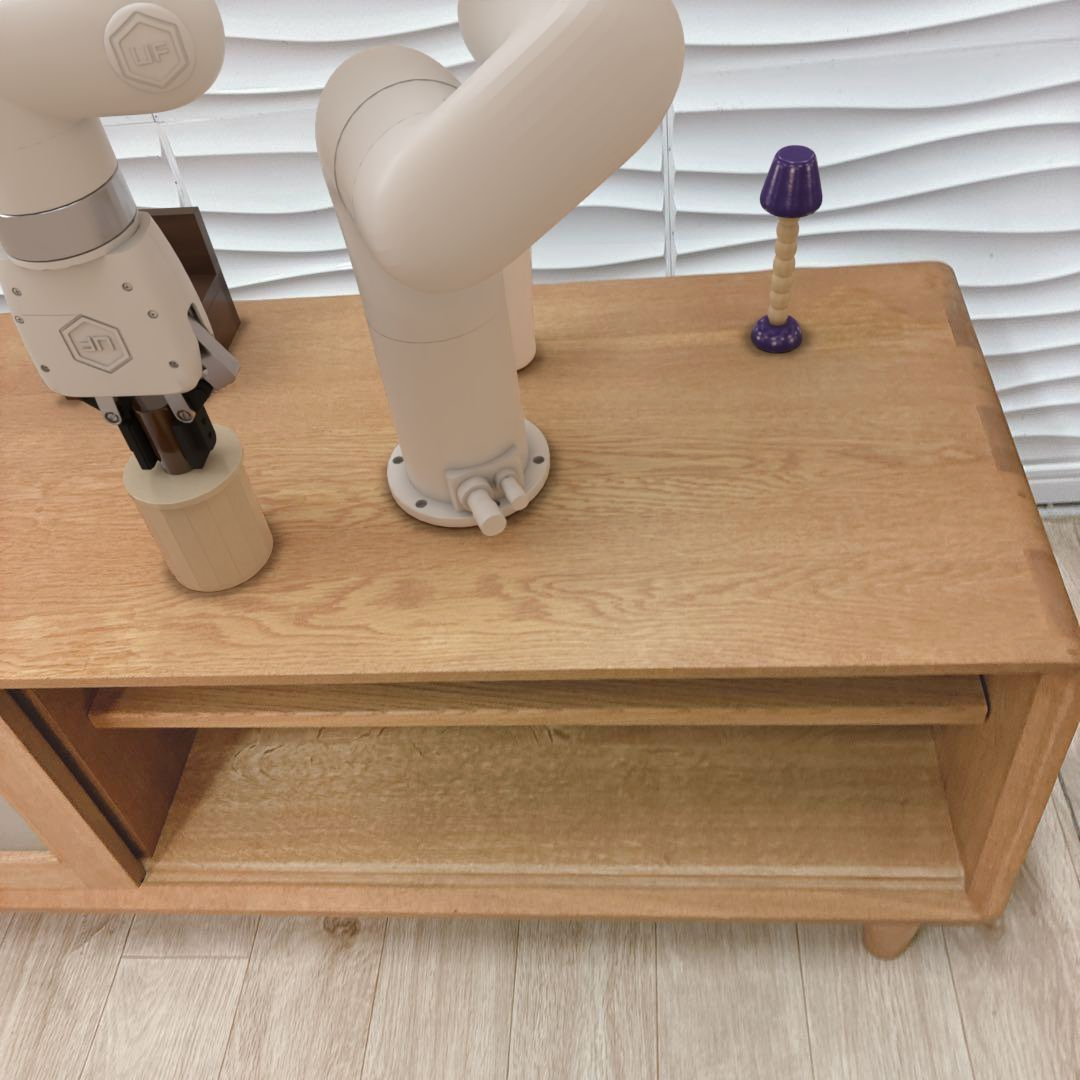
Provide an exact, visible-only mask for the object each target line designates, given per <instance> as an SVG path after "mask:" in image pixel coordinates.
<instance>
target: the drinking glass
mask: <svg viewBox="0 0 1080 1080" xmlns="http://www.w3.org/2000/svg"><path fill="white" fill-rule="evenodd" d="M532 251H533V249H532V246H531V247H530V248H528V249H527V250H526V251H525V252H524V253H523V254H522V255H520V256H519V257H518V258H517V259H515V260H514V261H513V262H512V263H511V264H509V265H508V266H506V267H505V268H504V269H502V272H503V279H504V285H505V296H506V303H507V310H508V316H509V323H510V330H511V336H512V343H513V350H514V356H515V363H516V370H517V371H519V370H521V369H524V368H525V367H526V366H528V365H530V363H531V362H532V361H533V360H534V358H535V356H536V352H537V341H536V334H535V318H534V316H535V315H534V314H535V313H534V289H533V287H534V285H533V283H534V281H533V255H532V254H533V253H532Z"/></svg>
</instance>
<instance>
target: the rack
mask: <svg viewBox="0 0 1080 1080" xmlns="http://www.w3.org/2000/svg"><path fill="white" fill-rule="evenodd" d="M137 209H138V211H144V212H148V213H149V214H150V216H151V217H152V218H153V220H154V221H155V223H156V224H157V225H158V227H159V228H160V230H161V231H162V233H163V234H164V236H165V237H166V239H167V240H168V242H169V243H170V245H171V247H172V248H173V250H174V252H175V253H176V255H177V257H178V258H179V260H180V262H181V264H182V266H183V267H184V269H185V271H186V273H187V275H188V277H189V279H190V281H191V283H192V285H193V287H194V289H195V291H196V293H197V295H198V297H199V299H200V301H201V303H202V306H203V308H204V310H205V312H206V315H207V317H208V320H209V322H210V325H211V328H212V330H213V334H214V337H215V339H216V340H217V341H218V342H219V343H220V344H221V345H222V346H223V347H224V348H225V349H226V350H227V351H228V350H229V347H230V345H231V344H232V341H233V339H234V337H235V335H236V333H237V330H238V329H239V326H240V324H241V320H240V316H239V314H238V312H237V308H236V306H235V303H234V301H233V298H232V295H231V292H230V290H229V286H228V284H227V281H226V278H225V276H224V272H223V270H222V268H221V267H222V266H221V265H220V262H219V260H218V256H217V253H216V251H215V249H214V246H213V243H212V240H211V237H210V235H209V232H208V229H207V227H206V223H205V221H204V218H203V216H202V213H201V211H200V208H199V206H179V207H177V206H176V207H159V208H156V207H155V208H137ZM203 368H205V367H204V366H203V365H202V369H203ZM64 398H65V399H66V401H68V400H70V401H71V400H79V399H78V398H77V397H69V396H64Z"/></svg>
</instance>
